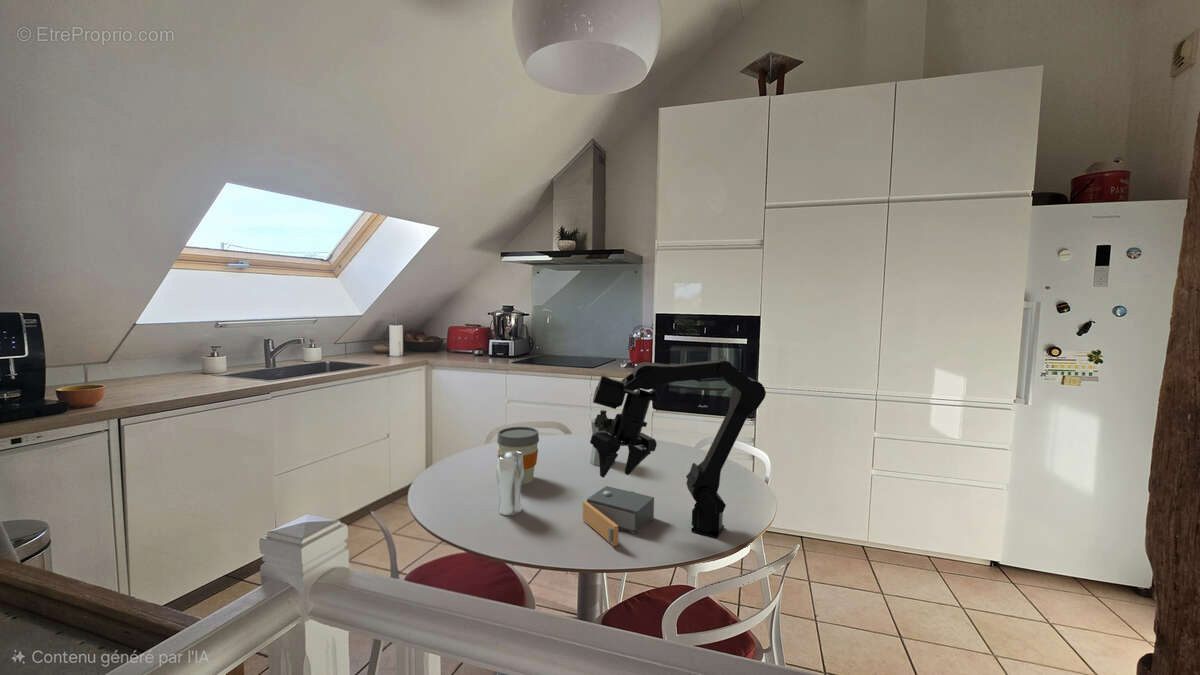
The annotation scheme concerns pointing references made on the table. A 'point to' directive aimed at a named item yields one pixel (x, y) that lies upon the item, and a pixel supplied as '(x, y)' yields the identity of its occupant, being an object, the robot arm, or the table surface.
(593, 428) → the coffee maker
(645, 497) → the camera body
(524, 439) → the reusable coffee cup
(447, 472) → the table surface
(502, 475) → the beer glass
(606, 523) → the side door
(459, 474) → the table surface
